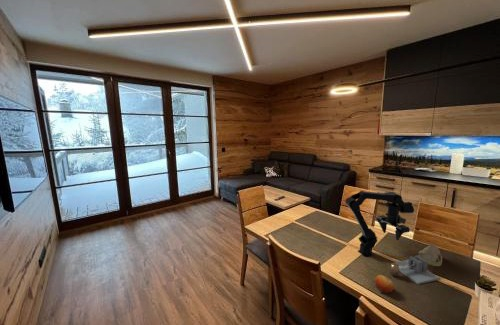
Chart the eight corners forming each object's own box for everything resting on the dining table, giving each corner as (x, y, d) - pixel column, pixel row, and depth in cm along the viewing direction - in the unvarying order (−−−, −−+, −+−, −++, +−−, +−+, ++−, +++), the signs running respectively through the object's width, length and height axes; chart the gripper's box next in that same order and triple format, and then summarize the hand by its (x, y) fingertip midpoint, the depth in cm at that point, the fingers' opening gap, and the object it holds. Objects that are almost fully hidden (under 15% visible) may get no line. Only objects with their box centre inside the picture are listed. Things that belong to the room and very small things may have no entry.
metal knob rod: (394, 276, 111) (395, 267, 110) (388, 272, 114) (389, 263, 113) (421, 270, 114) (422, 262, 114) (414, 266, 118) (415, 258, 117)
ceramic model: (438, 269, 118) (440, 253, 116) (414, 259, 127) (416, 244, 125) (445, 260, 126) (447, 244, 124) (422, 251, 135) (424, 237, 133)
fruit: (367, 282, 107) (376, 269, 106) (379, 288, 108) (387, 276, 107) (378, 294, 99) (387, 281, 98) (391, 301, 100) (400, 287, 99)
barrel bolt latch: (418, 284, 107) (419, 271, 105) (390, 264, 122) (392, 253, 121) (439, 279, 110) (441, 266, 108) (410, 261, 125) (411, 249, 124)
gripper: (418, 217, 121) (415, 242, 123) (390, 206, 139) (388, 228, 141) (402, 219, 118) (400, 245, 121) (376, 207, 136) (374, 230, 139)
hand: (390, 236), depth 131 cm, fingers open, 9 cm apart
